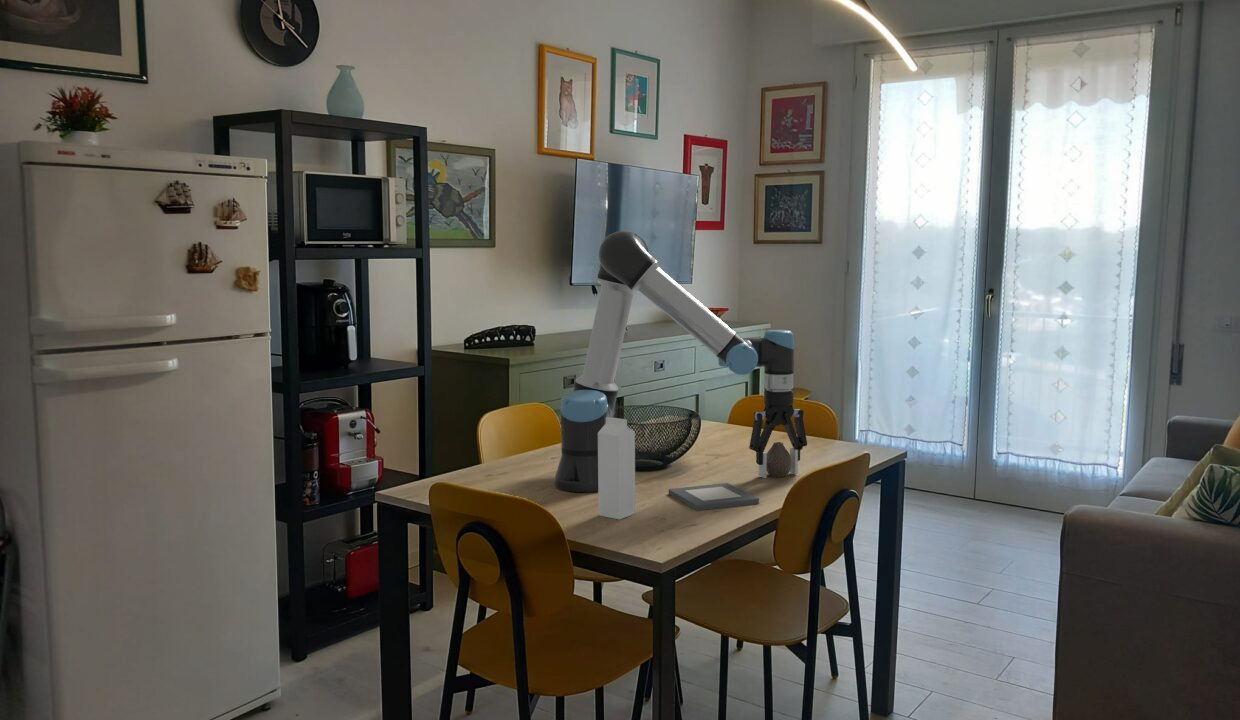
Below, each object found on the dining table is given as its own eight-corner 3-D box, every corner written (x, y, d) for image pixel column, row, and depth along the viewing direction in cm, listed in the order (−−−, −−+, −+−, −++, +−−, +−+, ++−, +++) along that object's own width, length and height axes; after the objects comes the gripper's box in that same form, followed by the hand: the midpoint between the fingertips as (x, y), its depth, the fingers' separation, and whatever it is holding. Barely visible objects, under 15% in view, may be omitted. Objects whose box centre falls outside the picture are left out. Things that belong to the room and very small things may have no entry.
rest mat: (697, 510, 214) (697, 505, 214) (668, 493, 229) (668, 488, 229) (758, 503, 220) (759, 498, 220) (727, 487, 235) (727, 482, 235)
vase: (793, 478, 243) (793, 445, 242) (766, 479, 244) (766, 445, 243) (788, 472, 250) (789, 440, 249) (762, 472, 250) (763, 440, 249)
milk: (614, 509, 216) (613, 414, 214) (635, 514, 212) (635, 417, 210) (597, 515, 211) (597, 418, 209) (619, 520, 207) (618, 421, 205)
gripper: (749, 394, 237) (749, 482, 240) (822, 388, 245) (821, 474, 247) (735, 390, 244) (735, 475, 247) (806, 385, 252) (805, 468, 254)
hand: (778, 474), depth 247 cm, fingers open, 9 cm apart
